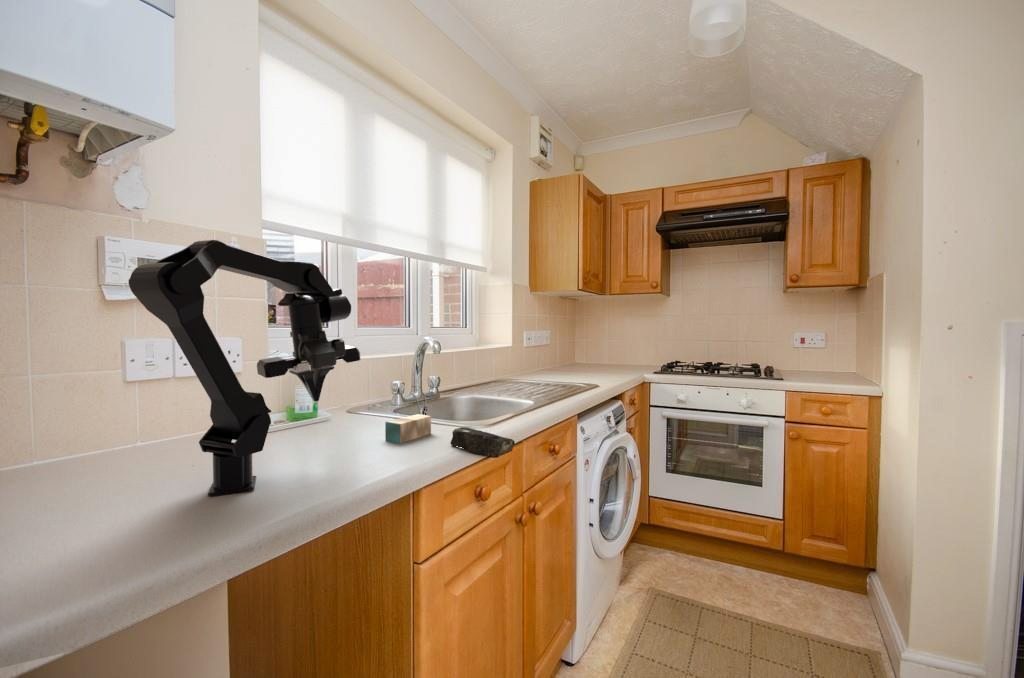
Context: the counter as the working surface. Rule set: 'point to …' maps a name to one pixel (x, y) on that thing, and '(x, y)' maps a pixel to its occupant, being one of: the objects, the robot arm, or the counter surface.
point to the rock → (481, 442)
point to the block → (407, 428)
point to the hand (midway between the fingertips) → (315, 400)
